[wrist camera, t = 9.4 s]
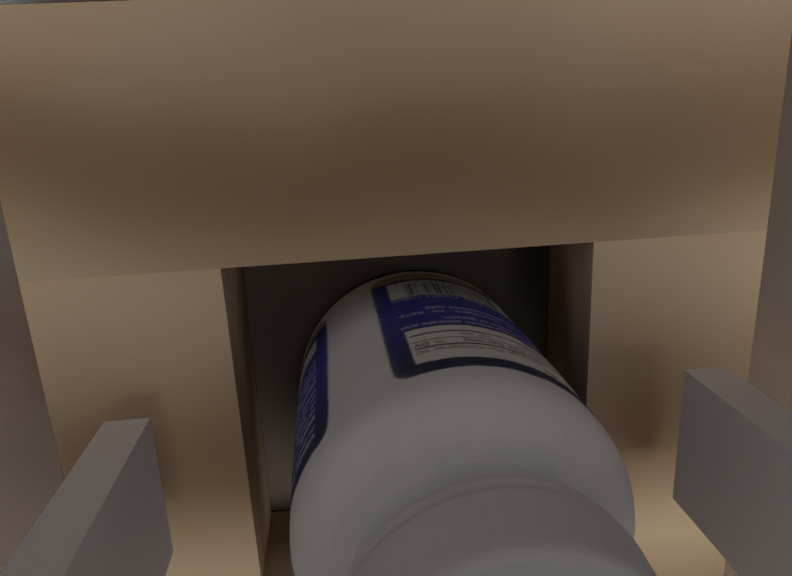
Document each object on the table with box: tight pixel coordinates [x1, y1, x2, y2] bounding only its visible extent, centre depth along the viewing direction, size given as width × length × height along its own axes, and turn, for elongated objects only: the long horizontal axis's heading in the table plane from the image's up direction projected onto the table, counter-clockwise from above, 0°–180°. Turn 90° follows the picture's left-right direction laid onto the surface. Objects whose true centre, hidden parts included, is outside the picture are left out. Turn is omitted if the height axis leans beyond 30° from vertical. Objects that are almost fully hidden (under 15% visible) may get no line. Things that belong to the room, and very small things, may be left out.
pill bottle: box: [289, 271, 657, 576], centre depth 11 cm, size 5×5×9 cm
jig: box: [0, 0, 792, 576], centre depth 13 cm, size 16×14×5 cm
